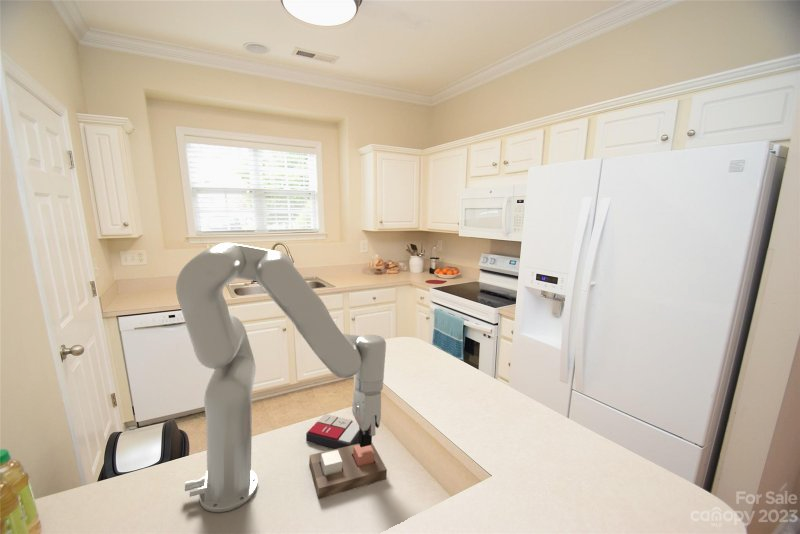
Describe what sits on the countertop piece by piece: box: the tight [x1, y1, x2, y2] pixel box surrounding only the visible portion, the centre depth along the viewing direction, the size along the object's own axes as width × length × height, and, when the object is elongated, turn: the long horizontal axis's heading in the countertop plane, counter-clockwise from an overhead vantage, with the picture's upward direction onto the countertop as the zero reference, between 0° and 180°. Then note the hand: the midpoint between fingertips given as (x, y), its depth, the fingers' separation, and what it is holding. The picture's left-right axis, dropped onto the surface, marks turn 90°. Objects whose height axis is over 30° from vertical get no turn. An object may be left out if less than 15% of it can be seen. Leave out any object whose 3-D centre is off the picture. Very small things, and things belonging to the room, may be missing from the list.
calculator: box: [305, 413, 360, 450], centre depth 103 cm, size 11×4×15 cm
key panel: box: [308, 442, 388, 500], centre depth 90 cm, size 18×12×3 cm, turn 115°
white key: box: [321, 450, 342, 476], centre depth 87 cm, size 4×4×4 cm
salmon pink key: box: [353, 445, 375, 467], centre depth 91 cm, size 4×4×4 cm
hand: (364, 444), depth 91 cm, fingers closed
